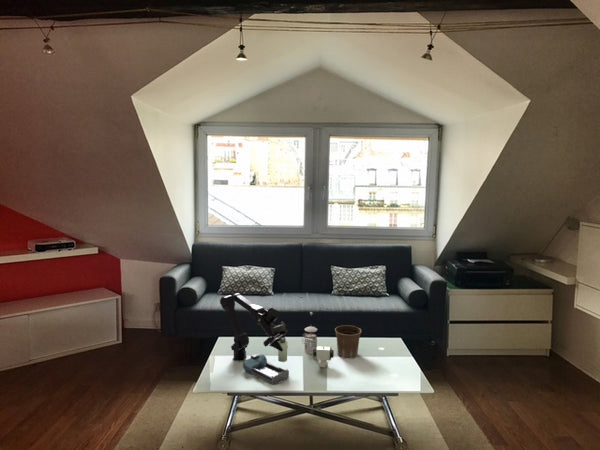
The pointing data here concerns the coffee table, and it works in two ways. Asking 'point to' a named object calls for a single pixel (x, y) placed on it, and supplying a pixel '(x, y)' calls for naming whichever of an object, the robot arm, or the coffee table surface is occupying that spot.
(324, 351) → the pneumatic valve
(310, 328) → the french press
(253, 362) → the grey tray with cylinder
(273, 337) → the robot arm
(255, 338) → the coffee table surface
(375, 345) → the coffee table surface
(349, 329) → the plant pot
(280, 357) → the pale green bottle
